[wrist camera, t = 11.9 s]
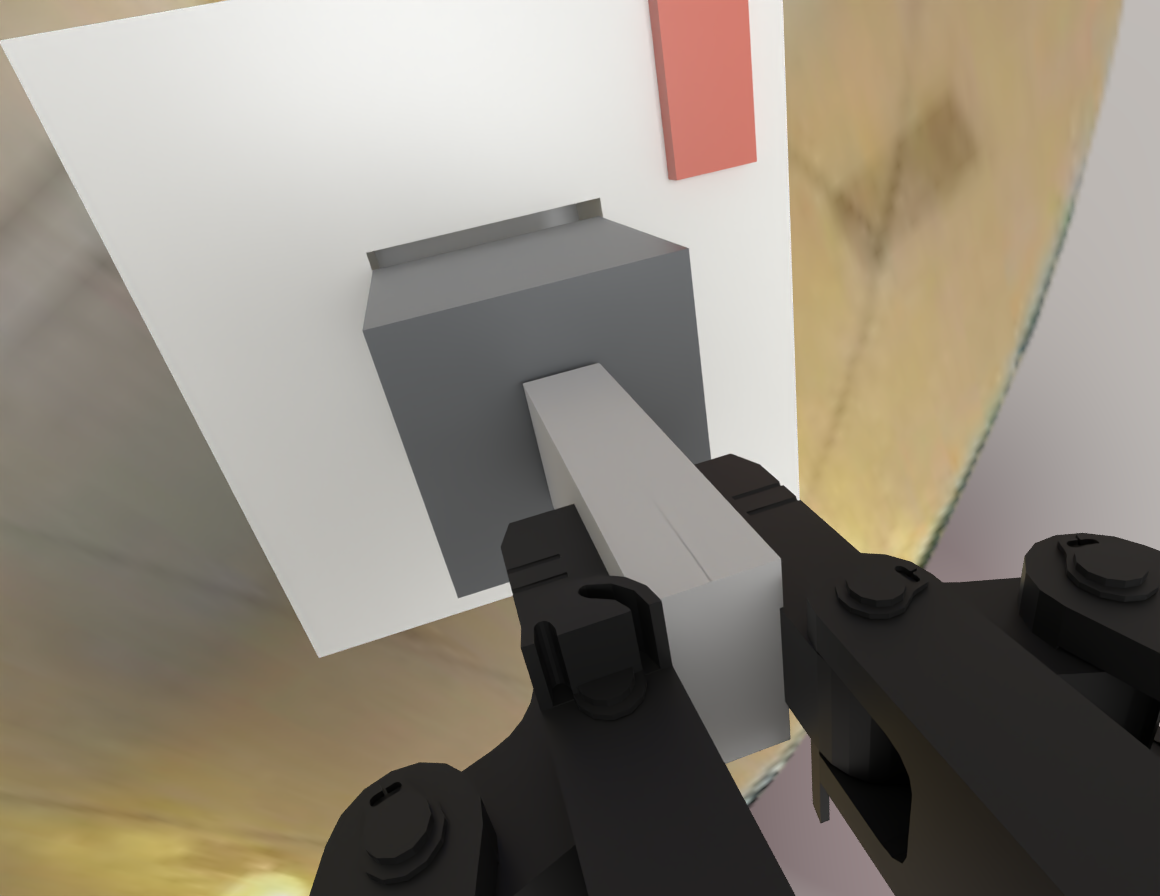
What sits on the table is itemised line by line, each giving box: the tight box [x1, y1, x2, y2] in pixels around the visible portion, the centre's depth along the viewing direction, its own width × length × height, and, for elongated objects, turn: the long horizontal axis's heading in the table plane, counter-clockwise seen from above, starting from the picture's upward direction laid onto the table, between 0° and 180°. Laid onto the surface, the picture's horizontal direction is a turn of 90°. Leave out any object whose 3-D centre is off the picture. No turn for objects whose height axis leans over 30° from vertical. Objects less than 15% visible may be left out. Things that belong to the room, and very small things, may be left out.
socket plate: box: [0, 0, 800, 658], centre depth 20 cm, size 18×18×4 cm
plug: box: [362, 216, 711, 598], centre depth 17 cm, size 6×6×10 cm
